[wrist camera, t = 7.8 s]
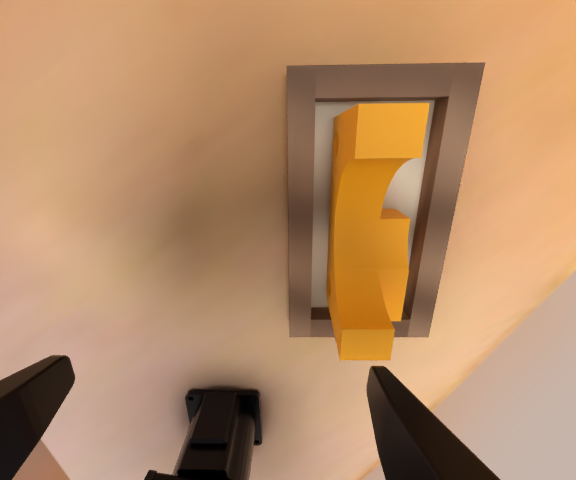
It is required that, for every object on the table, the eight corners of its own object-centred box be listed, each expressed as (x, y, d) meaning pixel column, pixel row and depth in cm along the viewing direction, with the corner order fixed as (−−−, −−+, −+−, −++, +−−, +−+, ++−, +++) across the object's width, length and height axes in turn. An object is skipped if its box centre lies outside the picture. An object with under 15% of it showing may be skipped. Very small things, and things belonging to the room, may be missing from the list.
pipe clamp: (384, 293, 20) (424, 360, 14) (325, 293, 20) (340, 360, 14) (407, 116, 16) (478, 102, 10) (333, 117, 16) (358, 103, 10)
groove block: (416, 320, 21) (428, 337, 20) (289, 320, 22) (289, 337, 20) (463, 71, 15) (485, 62, 14) (287, 74, 16) (286, 65, 14)
